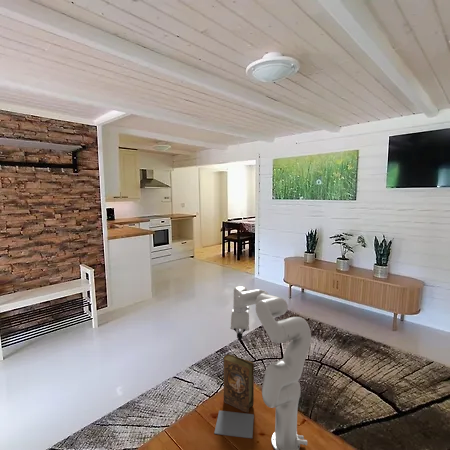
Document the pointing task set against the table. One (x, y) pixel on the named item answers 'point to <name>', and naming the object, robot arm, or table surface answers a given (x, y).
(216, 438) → the table surface
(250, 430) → the mat
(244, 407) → the book
